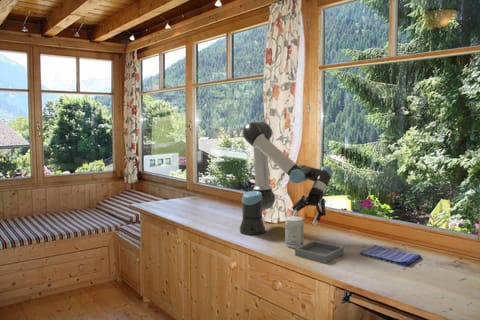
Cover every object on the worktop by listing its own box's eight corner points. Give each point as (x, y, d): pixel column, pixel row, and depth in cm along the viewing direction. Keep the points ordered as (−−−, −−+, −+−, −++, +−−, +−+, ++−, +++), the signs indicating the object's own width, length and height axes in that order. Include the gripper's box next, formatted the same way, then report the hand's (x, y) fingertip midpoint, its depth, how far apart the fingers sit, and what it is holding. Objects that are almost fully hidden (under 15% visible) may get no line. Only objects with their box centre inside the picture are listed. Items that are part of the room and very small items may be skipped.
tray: (295, 255, 192) (295, 248, 192) (314, 246, 205) (314, 240, 204) (325, 263, 181) (325, 256, 180) (343, 254, 193) (343, 247, 193)
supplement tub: (296, 241, 214) (296, 215, 212) (307, 246, 205) (307, 218, 204) (281, 244, 209) (281, 217, 207) (292, 249, 201) (292, 221, 199)
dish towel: (407, 268, 175) (407, 262, 175) (358, 255, 192) (358, 250, 192) (422, 258, 187) (422, 253, 186) (375, 247, 204) (375, 242, 204)
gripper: (340, 197, 212) (325, 231, 202) (301, 192, 228) (286, 223, 219) (335, 189, 207) (320, 223, 198) (296, 184, 224) (280, 215, 215)
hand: (302, 223), depth 209 cm, fingers open, 13 cm apart
